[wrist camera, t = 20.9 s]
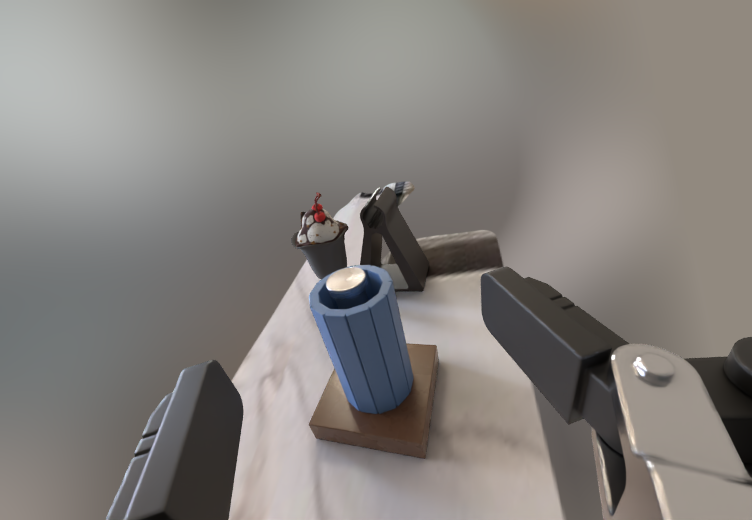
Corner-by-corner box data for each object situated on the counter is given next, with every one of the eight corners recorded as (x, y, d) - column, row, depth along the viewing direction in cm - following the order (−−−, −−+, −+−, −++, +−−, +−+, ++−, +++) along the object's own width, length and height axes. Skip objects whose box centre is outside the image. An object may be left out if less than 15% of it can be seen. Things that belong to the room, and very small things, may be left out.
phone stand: (429, 265, 44) (418, 182, 38) (423, 291, 39) (409, 202, 33) (370, 266, 47) (350, 190, 41) (357, 291, 42) (333, 209, 36)
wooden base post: (315, 438, 25) (253, 321, 19) (352, 353, 33) (315, 247, 26) (425, 459, 22) (394, 328, 16) (438, 359, 30) (421, 242, 23)
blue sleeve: (335, 408, 25) (294, 314, 20) (358, 352, 30) (329, 265, 25) (405, 418, 23) (378, 317, 18) (418, 357, 28) (399, 263, 23)
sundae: (364, 314, 37) (329, 197, 30) (311, 320, 39) (266, 208, 31) (369, 283, 43) (341, 177, 36) (323, 288, 44) (287, 187, 37)
